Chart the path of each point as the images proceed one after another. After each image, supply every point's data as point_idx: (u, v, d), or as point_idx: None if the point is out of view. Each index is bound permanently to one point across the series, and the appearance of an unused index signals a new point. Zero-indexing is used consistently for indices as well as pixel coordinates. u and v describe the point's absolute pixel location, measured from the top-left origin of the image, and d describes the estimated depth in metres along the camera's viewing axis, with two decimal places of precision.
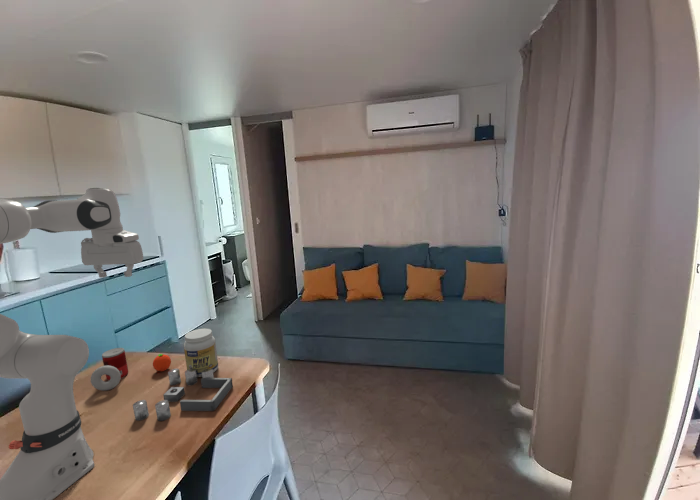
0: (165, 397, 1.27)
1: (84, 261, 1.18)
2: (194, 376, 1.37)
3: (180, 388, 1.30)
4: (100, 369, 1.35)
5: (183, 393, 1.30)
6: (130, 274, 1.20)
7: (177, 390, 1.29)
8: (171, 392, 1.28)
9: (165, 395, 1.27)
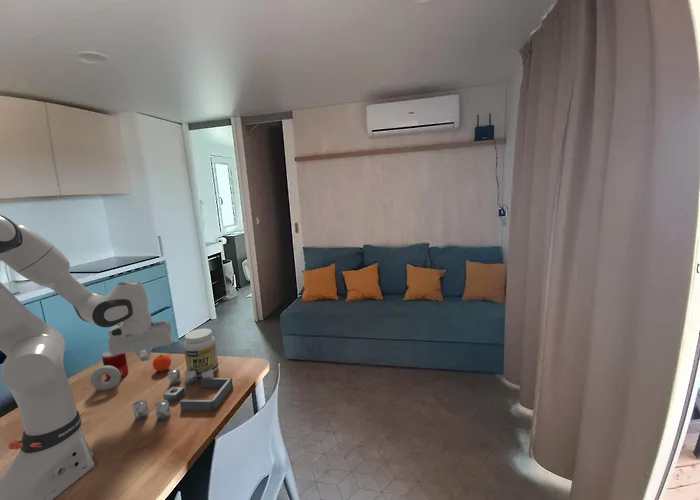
0: (165, 397, 1.27)
1: None
2: (194, 376, 1.37)
3: (180, 388, 1.30)
4: (100, 369, 1.35)
5: (183, 393, 1.30)
6: None
7: (177, 390, 1.29)
8: (171, 392, 1.28)
9: (165, 395, 1.27)
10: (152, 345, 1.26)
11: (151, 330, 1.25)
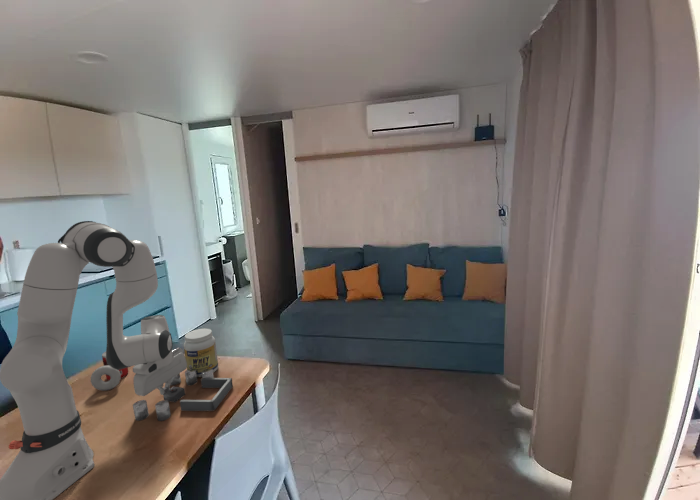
0: (165, 397, 1.27)
1: None
2: (194, 376, 1.37)
3: (180, 388, 1.30)
4: (100, 369, 1.35)
5: (183, 393, 1.30)
6: (162, 393, 1.28)
7: (177, 390, 1.29)
8: (171, 392, 1.28)
9: (165, 395, 1.27)
10: (174, 373, 1.31)
11: (173, 358, 1.31)
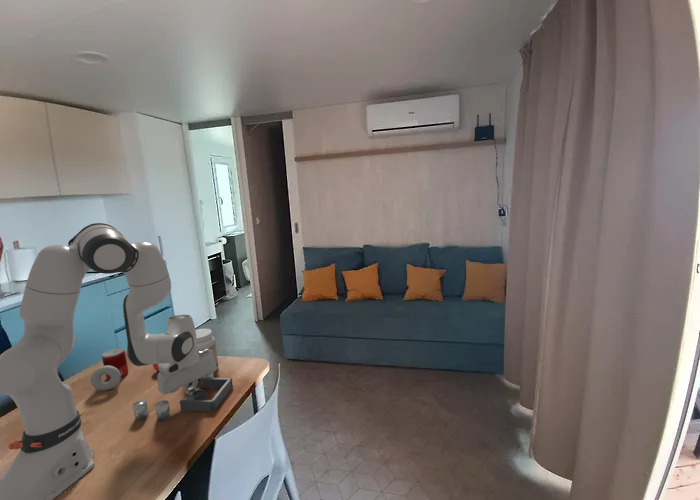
0: (187, 398, 1.25)
1: None
2: None
3: (202, 392, 1.26)
4: (100, 369, 1.35)
5: (205, 397, 1.26)
6: (187, 393, 1.27)
7: (198, 393, 1.26)
8: (192, 394, 1.25)
9: (187, 396, 1.25)
10: (201, 375, 1.29)
11: (200, 360, 1.28)
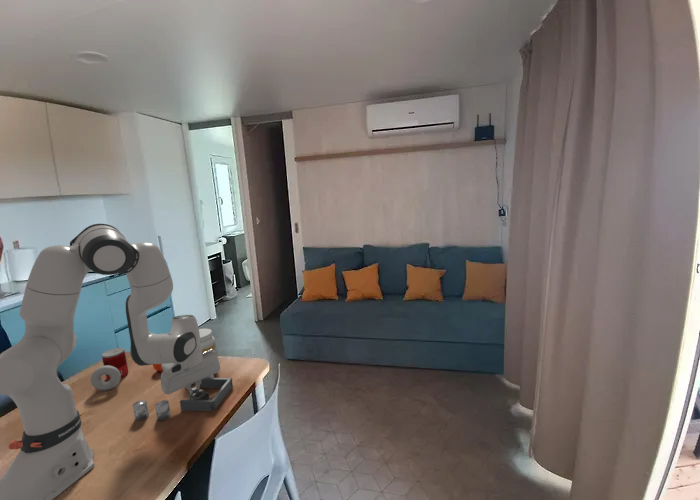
0: (189, 399, 1.25)
1: None
2: None
3: (204, 393, 1.26)
4: (100, 369, 1.35)
5: (207, 399, 1.26)
6: (190, 393, 1.27)
7: (200, 395, 1.25)
8: (195, 395, 1.25)
9: (189, 397, 1.25)
10: (204, 375, 1.28)
11: (204, 360, 1.28)
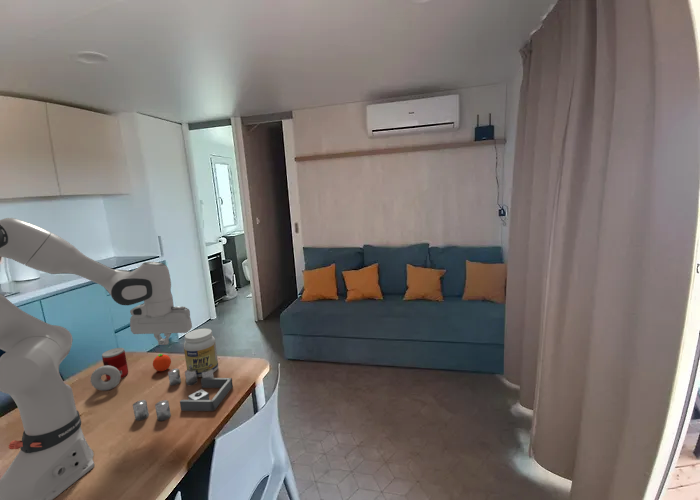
0: (189, 399, 1.25)
1: None
2: (194, 376, 1.37)
3: (204, 393, 1.26)
4: (100, 369, 1.35)
5: (207, 399, 1.25)
6: None
7: (200, 395, 1.25)
8: (194, 395, 1.25)
9: (189, 397, 1.25)
10: (169, 330, 1.23)
11: (170, 314, 1.22)
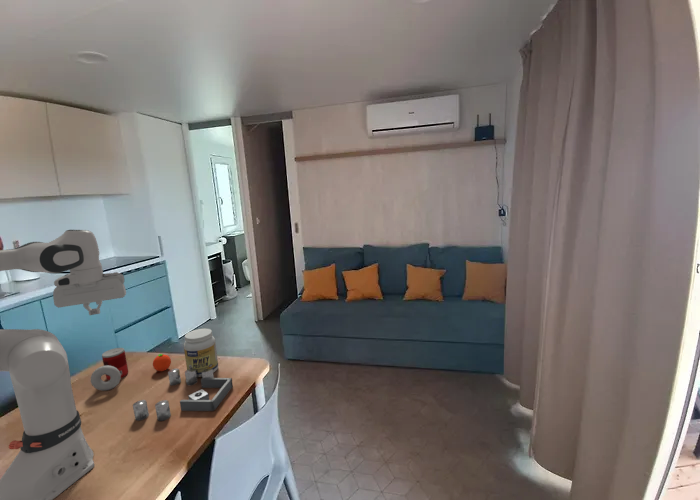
0: (189, 399, 1.25)
1: None
2: (194, 376, 1.37)
3: (204, 394, 1.26)
4: (100, 369, 1.35)
5: (207, 399, 1.25)
6: None
7: (200, 395, 1.25)
8: (195, 395, 1.25)
9: (189, 397, 1.25)
10: (103, 297, 1.22)
11: (103, 281, 1.21)
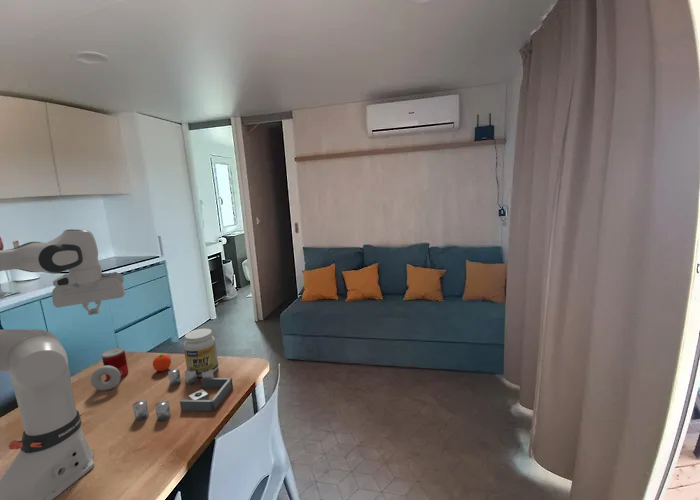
0: (189, 398, 1.25)
1: None
2: (194, 376, 1.37)
3: (204, 394, 1.25)
4: (100, 369, 1.35)
5: None
6: None
7: (200, 395, 1.25)
8: (194, 395, 1.25)
9: (189, 397, 1.25)
10: (102, 297, 1.22)
11: (102, 281, 1.21)
